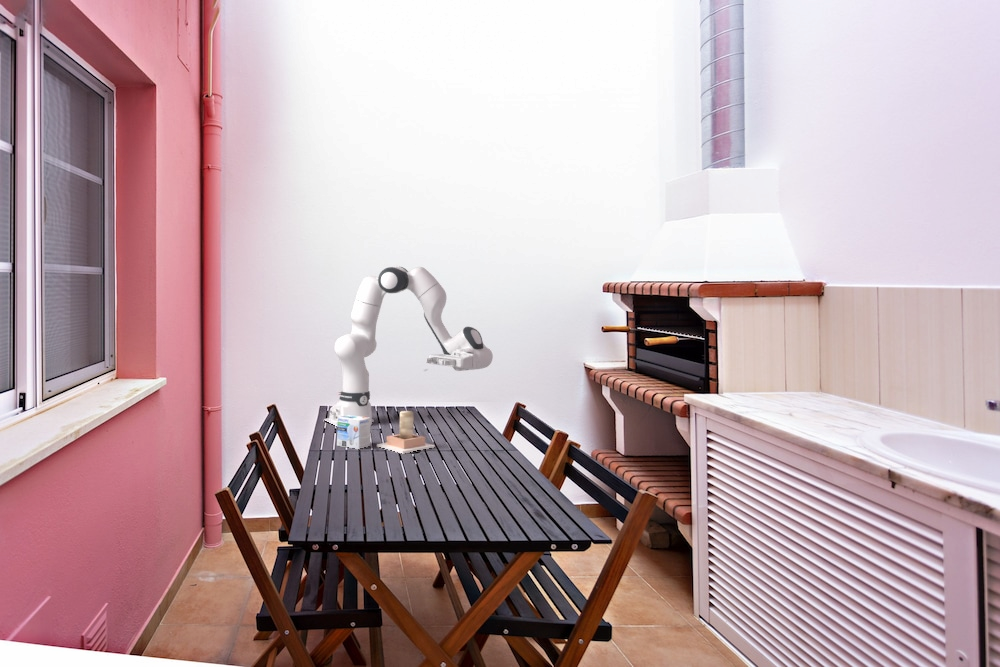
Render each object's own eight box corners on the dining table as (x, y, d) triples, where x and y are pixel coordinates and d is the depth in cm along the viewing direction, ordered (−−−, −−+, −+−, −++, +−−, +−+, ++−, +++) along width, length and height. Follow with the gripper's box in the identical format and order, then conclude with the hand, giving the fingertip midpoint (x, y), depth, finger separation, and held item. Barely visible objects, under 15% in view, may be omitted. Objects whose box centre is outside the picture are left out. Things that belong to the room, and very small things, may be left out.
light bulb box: (336, 446, 260) (336, 417, 260) (348, 442, 266) (348, 414, 266) (359, 449, 255) (359, 420, 255) (371, 446, 261) (371, 417, 261)
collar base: (376, 446, 260) (376, 436, 260) (408, 441, 271) (408, 430, 271) (402, 454, 250) (403, 442, 250) (434, 447, 261) (434, 437, 261)
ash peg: (396, 444, 261) (397, 412, 260) (406, 442, 264) (407, 410, 263) (405, 446, 257) (406, 414, 256) (415, 444, 261) (416, 412, 260)
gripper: (443, 350, 294) (417, 351, 284) (478, 354, 280) (453, 355, 270) (443, 365, 294) (417, 367, 284) (478, 369, 281) (452, 372, 270)
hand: (435, 361), depth 277 cm, fingers open, 8 cm apart
